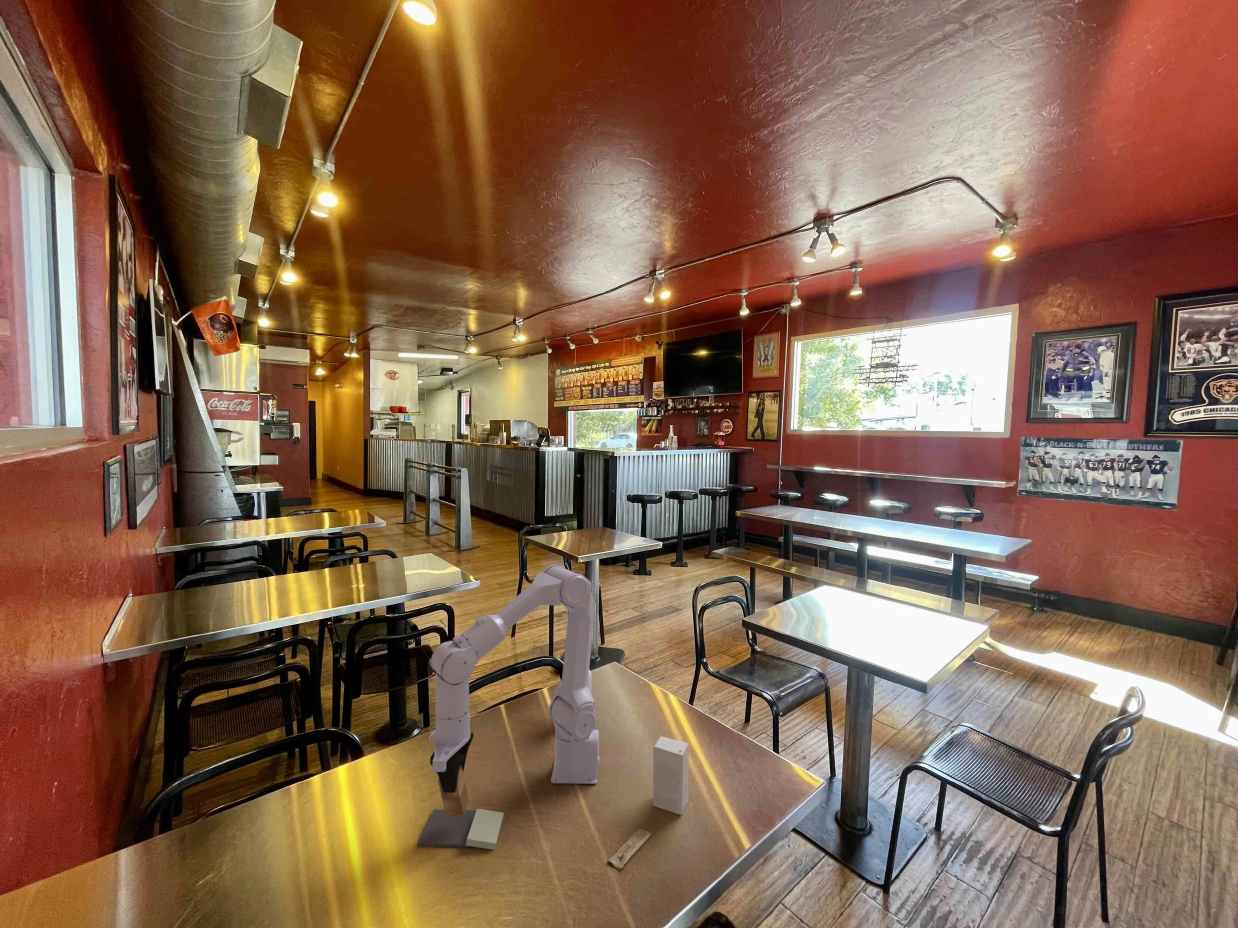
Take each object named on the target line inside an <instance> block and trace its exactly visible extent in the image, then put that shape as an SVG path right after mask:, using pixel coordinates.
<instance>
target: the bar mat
mask: <svg viewBox="0 0 1238 928" xmlns="http://www.w3.org/2000/svg"><path fill="white" fill-rule="evenodd" d="M476 810H477V809H466V810H465V812H464V814H462V815H456V816H450V817H446V814H445V810H444V808H443V809H433V810H432V812H431V814H430V817H429V819H428V821H427V822H426V824H425V826H424V829H423V831H422V833H421V834H420V837H419V839H418V841H417V843H416V845H417V847H440V848H441V847H442V848H443V847H444V848H446V847H448V848H453V847H455V848H475V847H474V846H468V845H466V842H467V837H468V834H469V831H470V828H471V825H472V822H473V819H474V816H475V813H476Z"/></svg>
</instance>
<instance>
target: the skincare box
mask: <svg viewBox="0 0 1238 928" xmlns="http://www.w3.org/2000/svg"><path fill="white" fill-rule="evenodd" d="M689 751H690V744H689V743H688V742H684V741H680V740H676V739H673V738H669V737H665V736H662V735H660V737H659V738H658V739H657V741H656V742H655V745H653V762H652V763H653V767H652V768H653V771H652V773H653V774H652V775H653V776H652V777H653V779H652V780H653V781H652V806H653V807H655V808H657V809H658V808H659V809H662V810H665V811H668V812H670V813H673V814H676V815H679V816H682V815H683V814H684V811H685V809H686V807H687V805H688V803H689V769H690V768H689V767H690V766H689V761H690V760H689V759H690V758H689V757H690V756H689V754H690V752H689Z"/></svg>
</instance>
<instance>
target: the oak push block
mask: <svg viewBox="0 0 1238 928" xmlns="http://www.w3.org/2000/svg"><path fill="white" fill-rule="evenodd" d="M437 781H438V786H439V789H440V790H439V791H440V795H441V799H442V804H443V810H445V814H446V817H450V816H456V815H462V814H464V812H465V810H467V808H468V804H469V802H470V801H469V794H468V790H467V785H466V782H465V781H466V780H465V775H464V772H463V770H462V766H460V770H459V775H458V783H457V788H456V791H455V792H454V793H444V792H443V790H442V787H441V783H440V780H439V778H438V780H437Z"/></svg>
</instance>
